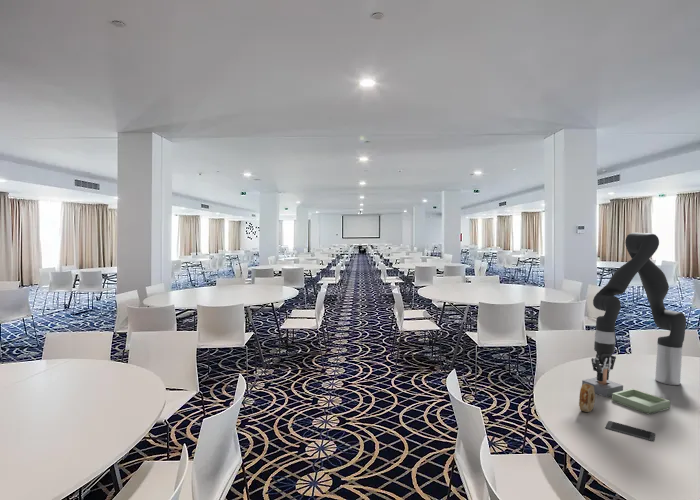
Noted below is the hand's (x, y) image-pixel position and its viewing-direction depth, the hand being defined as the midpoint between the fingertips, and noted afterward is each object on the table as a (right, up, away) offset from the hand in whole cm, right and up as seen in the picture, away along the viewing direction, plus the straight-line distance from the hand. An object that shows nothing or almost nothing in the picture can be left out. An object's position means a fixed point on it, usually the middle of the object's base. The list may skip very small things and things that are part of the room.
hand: (602, 380), depth 181 cm
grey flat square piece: (0, -5, 0) cm, 5 cm away
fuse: (0, -5, 0) cm, 5 cm away
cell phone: (-13, -7, -37) cm, 40 cm away
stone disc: (-19, -5, -21) cm, 28 cm away
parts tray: (+7, -5, -14) cm, 16 cm away
